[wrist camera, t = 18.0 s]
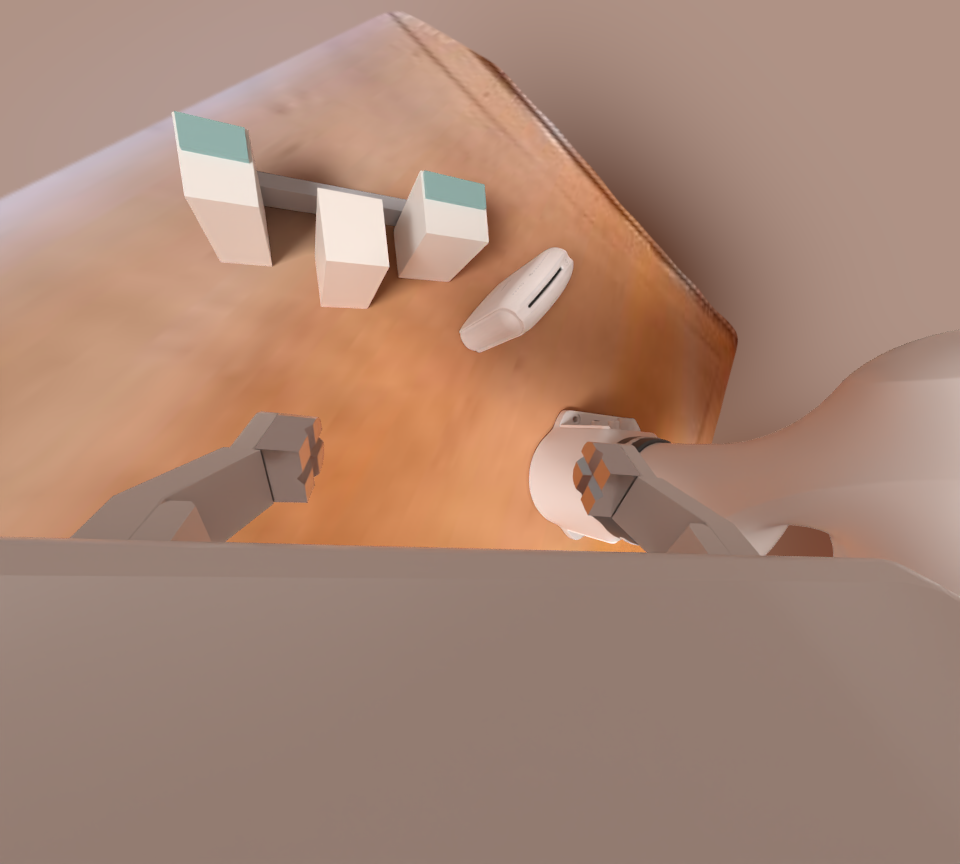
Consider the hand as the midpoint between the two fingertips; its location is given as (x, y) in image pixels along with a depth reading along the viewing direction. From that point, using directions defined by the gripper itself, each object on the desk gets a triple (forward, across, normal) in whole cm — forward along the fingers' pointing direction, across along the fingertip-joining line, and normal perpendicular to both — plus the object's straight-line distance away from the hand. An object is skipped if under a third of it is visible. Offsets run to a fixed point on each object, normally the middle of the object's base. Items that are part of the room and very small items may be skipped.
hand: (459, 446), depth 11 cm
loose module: (+30, +10, +4) cm, 32 cm away
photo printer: (+34, -6, +7) cm, 36 cm away
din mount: (+33, +10, 0) cm, 34 cm away
